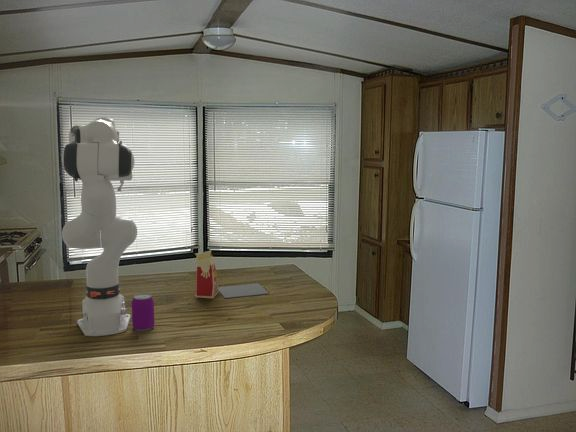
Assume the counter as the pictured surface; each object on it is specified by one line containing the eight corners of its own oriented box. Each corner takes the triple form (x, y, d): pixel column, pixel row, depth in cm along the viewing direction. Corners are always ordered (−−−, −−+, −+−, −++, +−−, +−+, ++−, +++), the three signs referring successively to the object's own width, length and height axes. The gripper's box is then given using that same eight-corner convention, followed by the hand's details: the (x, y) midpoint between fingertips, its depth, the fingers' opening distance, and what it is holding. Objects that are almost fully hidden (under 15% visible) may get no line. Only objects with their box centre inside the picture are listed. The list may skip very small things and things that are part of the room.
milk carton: (218, 292, 233) (218, 248, 230) (213, 298, 224) (213, 252, 221) (198, 291, 234) (197, 247, 231) (192, 297, 225) (192, 252, 222)
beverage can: (146, 322, 195) (145, 291, 193) (158, 327, 190) (158, 295, 188) (128, 328, 189) (127, 296, 187) (141, 333, 185) (139, 300, 183)
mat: (269, 294, 231) (269, 293, 231) (224, 298, 224) (224, 297, 224) (258, 284, 246) (258, 283, 246) (216, 288, 239) (216, 287, 239)
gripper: (78, 158, 209) (80, 193, 211) (132, 158, 216) (133, 191, 218) (78, 158, 215) (80, 191, 217) (130, 157, 222) (132, 190, 224)
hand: (107, 191), depth 218 cm, fingers open, 8 cm apart
